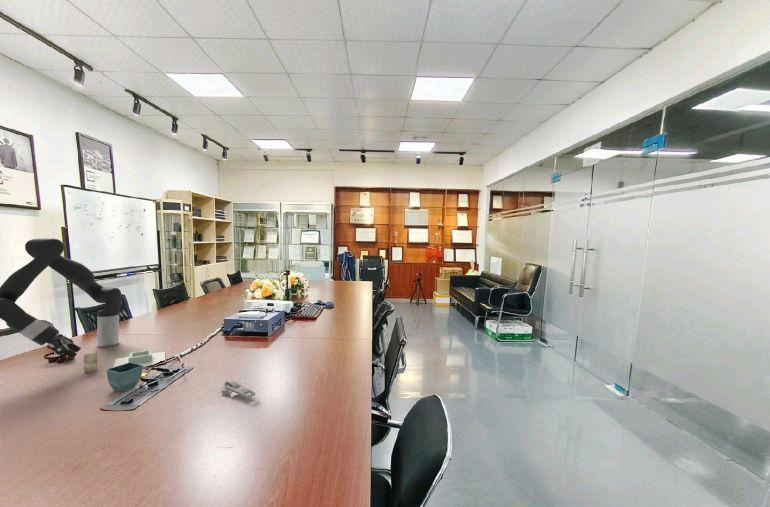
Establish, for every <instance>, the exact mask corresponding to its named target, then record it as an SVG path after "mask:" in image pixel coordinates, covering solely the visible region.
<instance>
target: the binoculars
mask: <svg viewBox="0 0 770 507" xmlns="http://www.w3.org/2000/svg"><path fill="white" fill-rule="evenodd" d="M68 349H69V348H68ZM70 350H71V349H70ZM72 351H73V350H72ZM73 352H75V351H73ZM75 353H76V352H75ZM55 355H57V356H55ZM75 357H76V356H75ZM75 357H74V358H71V357H69V356H67V355H65V354H58V353H56V352H55V351H53V350H52V352H50V353H47V354H44V355H43V359H45V360H48V363H55V362H56V364H60V363H63V362H65V361H67V360H72V359H75Z"/></svg>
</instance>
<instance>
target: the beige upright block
mask: <svg viewBox="0 0 770 507" xmlns="http://www.w3.org/2000/svg"><path fill="white" fill-rule="evenodd" d="M83 355H84V356H83V367H84V368H83V369H84V370H83V372H84V374H88V373H94V372H96V371H98V352H96V351H92V352H87V353H84V354H83Z"/></svg>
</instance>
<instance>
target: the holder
mask: <svg viewBox="0 0 770 507" xmlns="http://www.w3.org/2000/svg"><path fill="white" fill-rule="evenodd" d="M152 351H153V349H147V350H140V351H133V352H132V351H131V352H129V354H128V356H125V357H120V358H115V361H114V364H113V366H112V368H113V367H116V366H119V365H123V364H126V363H129V362H132V363H136V364H140V365H143V369H146V367H147V366H150V365H154V364H156V363H158V362H160V361H163V360H165V361H166V352H165V351H159V352H154V353H153V352H152ZM147 368H148V367H147Z"/></svg>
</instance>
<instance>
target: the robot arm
mask: <svg viewBox="0 0 770 507" xmlns="http://www.w3.org/2000/svg"><path fill="white" fill-rule="evenodd" d="M24 249H25V252H26V253H27V254H28V255H29V256H30V257H31V258H33V259H32V260H30V261H29V262H28V263H27V264H24V266H22V267H20V268H18V269H17V270H16V271H14V272H13V273H12V274H10V275H9V276H8V278H6V280H5V281H4V282H3V283H2V285H1V286H0V319H1V320H2V321H4V322H5V324H6V326H7V327H9V328H10V329H12V330H14V331H15V332H16V333H19V334H20V335H22V336H23V337H24V338H26V339H28V340H30V341H31V342H34V343H36V344H37V345H39V346H44V345H45V344H48V345H46V348H48V349H49V350H51V351H52V352H53V351H54V353H55V352H56V353H58V354H65V355H67V357H68V356H69V357H71V358H73V359H75V358H74V357H76V356H77V355H78V352H80V351H81V349H82V348H81V347H80V346H78V345H77V344H75V343H74V340H72V338H69V337H67V336H65V335H63V334H61V333H60V330H59V329H57V328H55V327H54V326H51V325H50V324H48V323H47V322H45V321H42V320H40V319H38V318H36V317H35V316H33V315H31V314H29V313H27V312H26V311H25V310H24V309H23V308H22V307H21V306H19V305H18V304H17V303H16V302H17V300H18V299H19V298H21V296H22V295H23V294H24V293H25V292H26V291H27V289H28V288H29V287H30V286H31V285H32V283H33V282H34V281H35V280H36V278H37V277H39V275H41V273H42V272H43V271H45V270H46V269H47V267H49V268H50V269H52V270H54V272H56V273H58V274H59V275H61V276H62V277H64V278H65V279H66V280H68V281H69V282H70V283H72V284H73V285H75V286H76V287H78V288H79V289H80V290H82V291H83V292H84V293H86V294H87V295H88V296H89V297H90V298H91V299H92V300H93V301H95V302H96V303H99V304H105V307H104V308H103V309H99V310H98V311H97V314H96V315H97V318H96V320H97V324H96V326H97V327H96V328H97V334H96V337H97V339H96V340H97V341H96V342H97V343H96V345H97V347H100V348H105V347H111V346H116V345H118V344H119V343H120V342H119V341H120V310H121V307H122V292H121V289H119V288H117V287H105V286H102V285H100V284H99V283H98V282H97V281H96V279H95V274H94V273H93V272H92V270H91V269H89V268H88V266H85V265H84V264H82V263H80V262H78V261H76V260H73V259H70V258H68V257H65V256H64V255H63V256H62V254H63V252H64V249H65V245H64V242H63V241H62V240H60V239H58V238H55V237H54V238H52V237H51V238H50V237H49V238H48V237H47V238H42V237H41V238H32V239H29V240H27V241H26V243H25V244H24ZM59 333H60V334H59ZM58 334H59V335H58ZM68 348H69V349H68ZM70 349H71V350H70ZM72 350H73V351H75V352H73V351H72ZM56 353H55V354H56Z"/></svg>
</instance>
